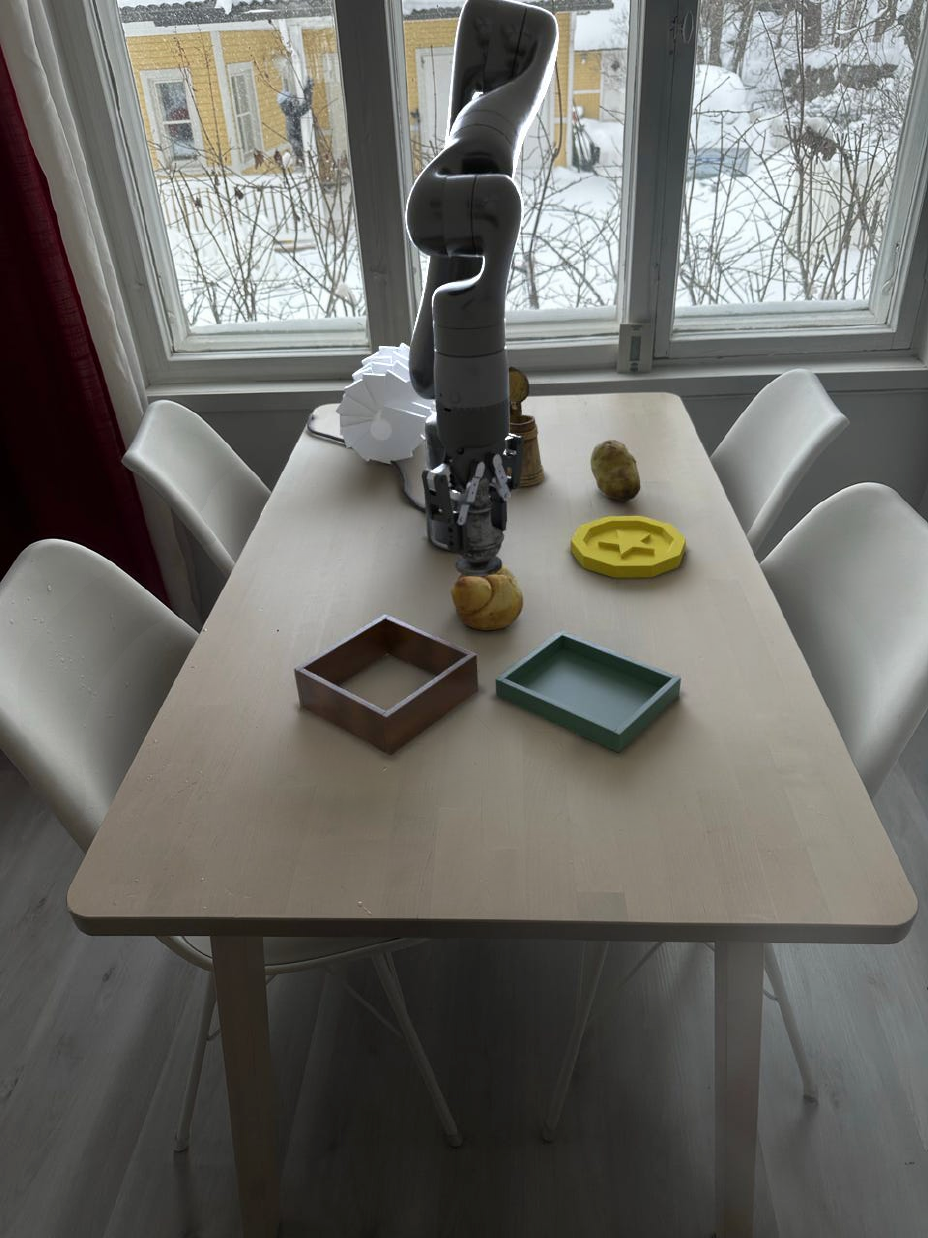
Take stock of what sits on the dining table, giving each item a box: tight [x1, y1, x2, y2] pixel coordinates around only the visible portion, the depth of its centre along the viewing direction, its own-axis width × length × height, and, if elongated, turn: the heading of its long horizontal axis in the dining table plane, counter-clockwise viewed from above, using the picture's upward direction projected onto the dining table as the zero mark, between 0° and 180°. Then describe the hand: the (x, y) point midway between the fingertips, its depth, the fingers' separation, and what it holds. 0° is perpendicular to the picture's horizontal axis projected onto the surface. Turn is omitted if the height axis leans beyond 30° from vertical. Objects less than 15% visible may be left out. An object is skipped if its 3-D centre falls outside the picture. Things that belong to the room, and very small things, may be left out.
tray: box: [495, 630, 682, 753], centre depth 112 cm, size 18×14×3 cm
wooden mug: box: [507, 366, 545, 487], centre depth 167 cm, size 9×14×18 cm, turn 6°
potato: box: [589, 439, 642, 502], centre depth 161 cm, size 8×13×8 cm, turn 175°
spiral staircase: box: [335, 342, 436, 465], centre depth 182 cm, size 18×18×25 cm
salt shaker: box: [454, 478, 505, 577], centre depth 100 cm, size 6×6×12 cm
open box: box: [293, 614, 479, 757], centre depth 112 cm, size 16×16×6 cm
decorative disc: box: [570, 515, 687, 579], centre depth 143 cm, size 17×18×2 cm
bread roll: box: [450, 564, 524, 631], centre depth 128 cm, size 13×10×8 cm
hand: (477, 540), depth 102 cm, fingers closed on salt shaker, 6 cm apart
